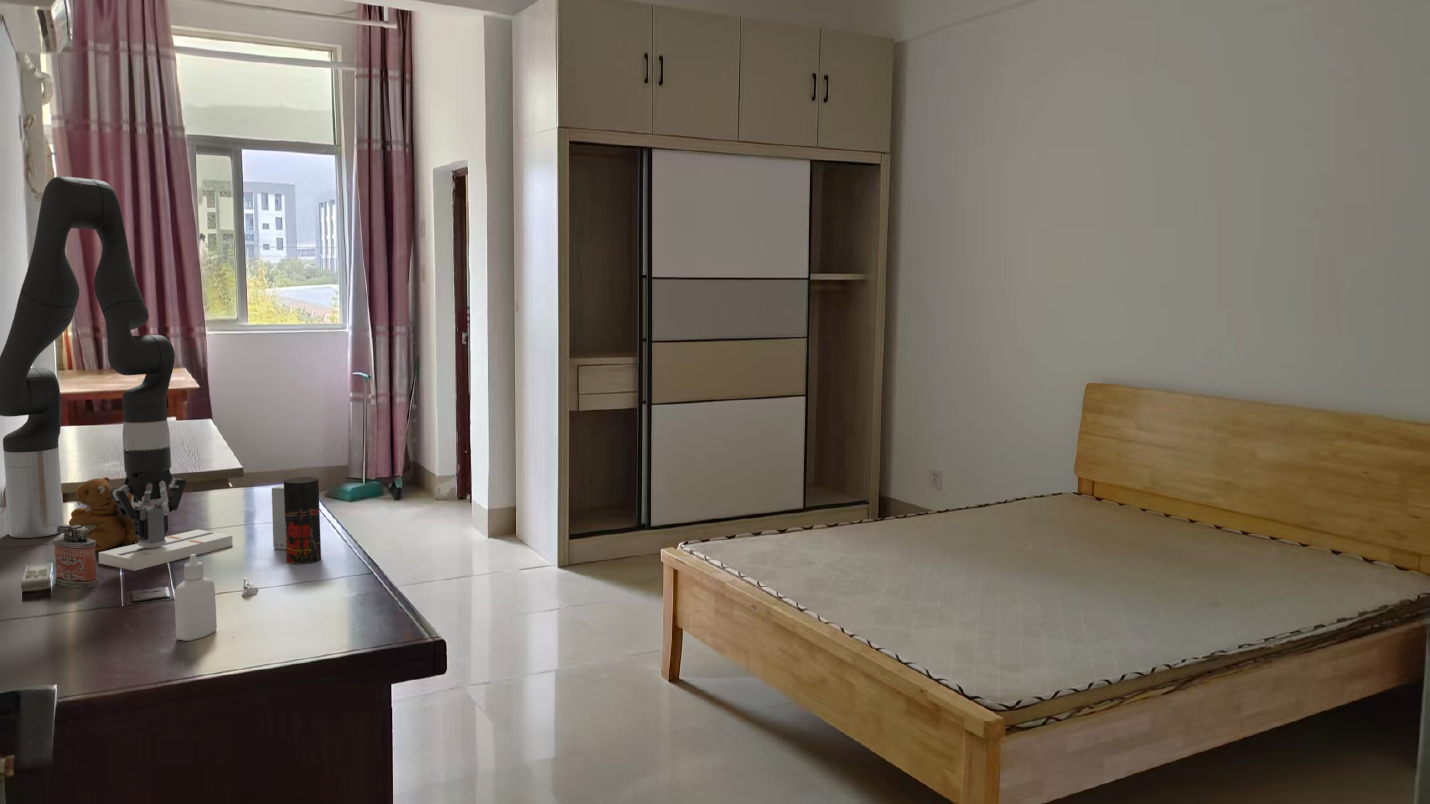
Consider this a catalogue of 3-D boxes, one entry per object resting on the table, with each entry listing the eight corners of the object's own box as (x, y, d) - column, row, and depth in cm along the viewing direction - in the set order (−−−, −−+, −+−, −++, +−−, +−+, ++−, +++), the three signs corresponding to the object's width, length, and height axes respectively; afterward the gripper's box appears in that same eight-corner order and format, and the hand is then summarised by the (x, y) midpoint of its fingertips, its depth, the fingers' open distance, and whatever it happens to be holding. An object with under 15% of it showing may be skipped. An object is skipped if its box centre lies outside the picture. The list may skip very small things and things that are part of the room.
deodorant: (280, 559, 190) (277, 479, 188) (312, 553, 194) (309, 475, 193) (295, 566, 186) (292, 484, 184) (327, 559, 190) (324, 480, 189)
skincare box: (292, 550, 197) (290, 488, 195) (272, 549, 198) (270, 487, 196) (311, 542, 203) (309, 482, 201) (291, 541, 204) (289, 481, 202)
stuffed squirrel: (78, 541, 202) (74, 474, 201) (159, 536, 207) (155, 471, 205) (64, 553, 193) (60, 484, 191) (149, 548, 197) (145, 480, 196)
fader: (138, 545, 190) (136, 509, 189) (153, 542, 192) (151, 506, 192) (151, 548, 188) (148, 511, 187) (166, 544, 191) (164, 508, 190)
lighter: (103, 583, 175) (100, 525, 173) (85, 588, 171) (82, 529, 170) (68, 578, 177) (64, 521, 176) (50, 583, 174) (46, 525, 173)
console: (99, 563, 187) (98, 551, 186) (198, 539, 204) (197, 528, 204) (134, 570, 182) (133, 559, 182) (232, 545, 200) (232, 534, 200)
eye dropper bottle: (172, 635, 150) (167, 554, 148) (213, 627, 153) (210, 548, 152) (179, 643, 146) (174, 561, 145) (221, 635, 150) (217, 554, 149)
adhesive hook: (241, 594, 171) (240, 576, 170) (258, 592, 172) (258, 574, 171) (241, 600, 168) (240, 581, 168) (258, 598, 169) (258, 579, 169)
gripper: (169, 438, 196) (173, 527, 198) (96, 448, 184) (101, 543, 186) (195, 441, 193) (199, 532, 195) (122, 452, 180) (128, 548, 182)
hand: (151, 537), depth 190 cm, fingers closed on fader, 3 cm apart
